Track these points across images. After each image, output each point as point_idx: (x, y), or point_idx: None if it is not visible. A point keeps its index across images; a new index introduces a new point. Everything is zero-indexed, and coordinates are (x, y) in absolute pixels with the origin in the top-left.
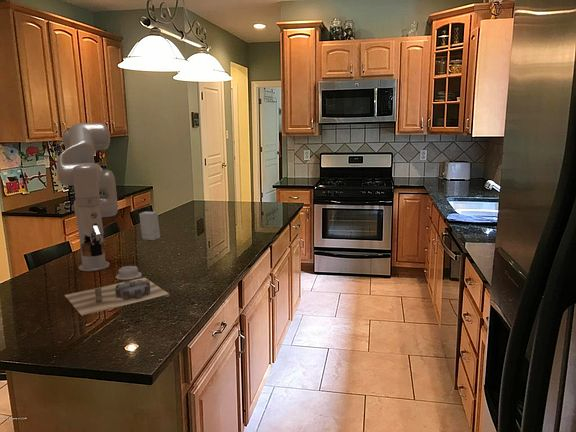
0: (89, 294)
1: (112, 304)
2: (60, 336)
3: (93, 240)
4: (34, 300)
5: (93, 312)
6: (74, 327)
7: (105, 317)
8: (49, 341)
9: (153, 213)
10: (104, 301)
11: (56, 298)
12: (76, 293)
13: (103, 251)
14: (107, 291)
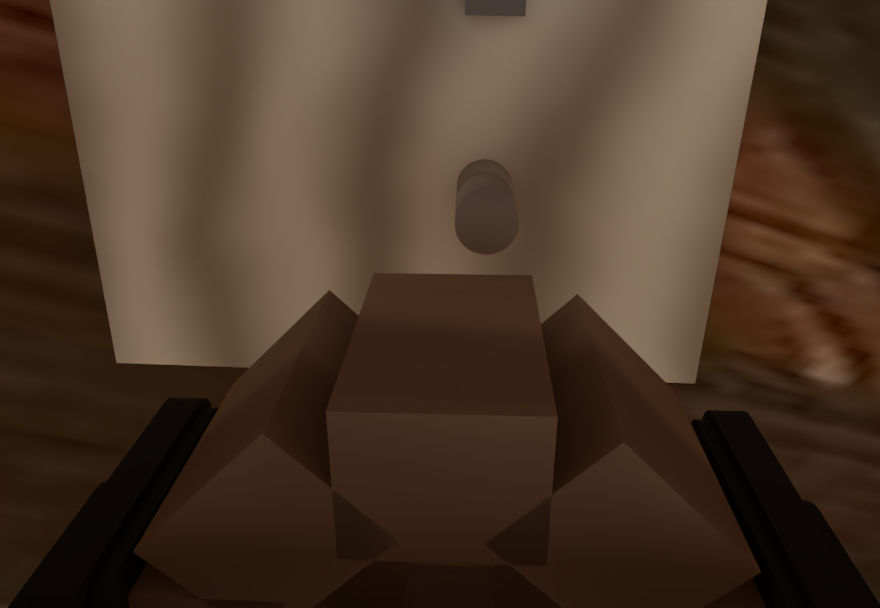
0: (228, 196)
1: (649, 113)
2: (862, 536)
3: (112, 594)
4: (70, 514)
5: (703, 301)
6: (799, 446)
7: (814, 234)
8: (876, 589)
9: None
10: (515, 147)
11: (110, 399)
12: (131, 278)
13: (614, 347)
14: (244, 25)
